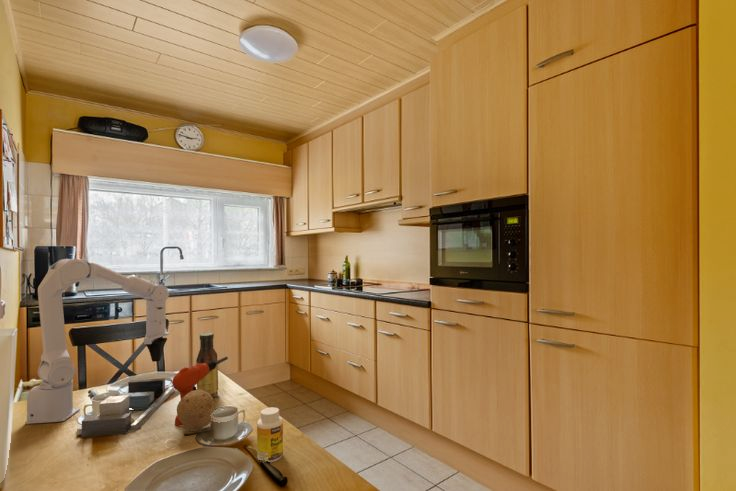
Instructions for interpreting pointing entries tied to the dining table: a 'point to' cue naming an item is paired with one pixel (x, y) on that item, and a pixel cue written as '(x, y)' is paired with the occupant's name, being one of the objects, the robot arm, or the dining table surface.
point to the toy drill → (192, 379)
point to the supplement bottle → (270, 435)
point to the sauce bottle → (204, 356)
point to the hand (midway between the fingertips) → (156, 360)
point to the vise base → (118, 420)
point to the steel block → (114, 405)
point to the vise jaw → (144, 392)
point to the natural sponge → (195, 410)
